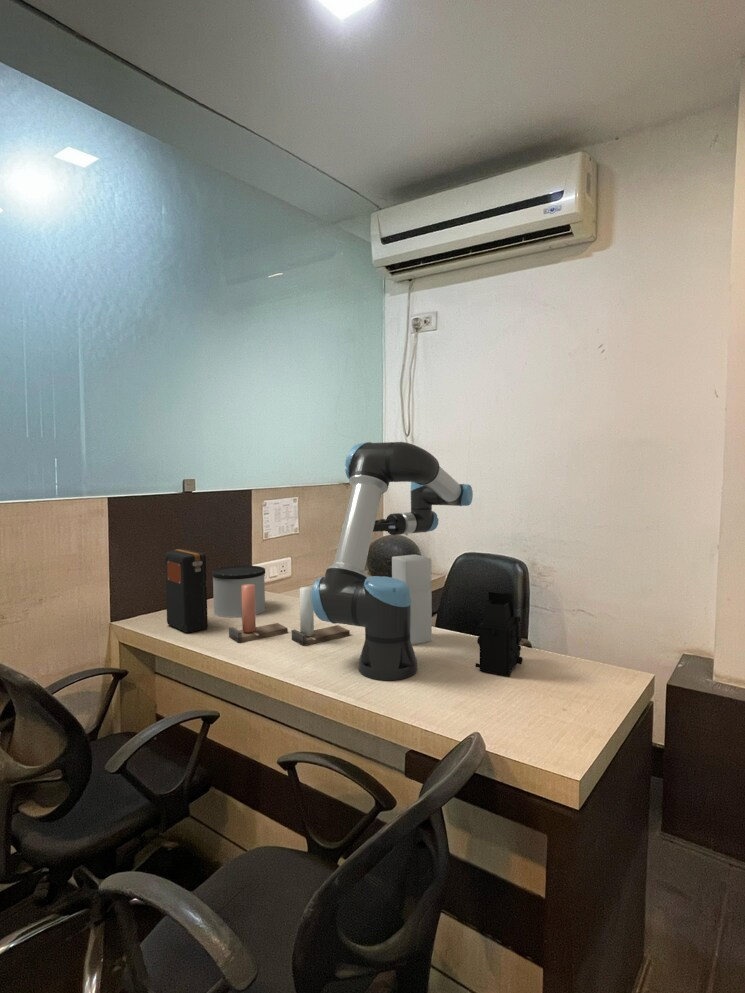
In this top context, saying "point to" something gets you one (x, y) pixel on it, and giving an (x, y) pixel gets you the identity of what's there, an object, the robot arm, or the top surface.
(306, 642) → the brown wooden board
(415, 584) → the tall white carton
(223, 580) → the container
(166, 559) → the voltmeter
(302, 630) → the grey plug
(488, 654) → the camera
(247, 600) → the terracotta plug
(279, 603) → the top surface
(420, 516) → the robot arm
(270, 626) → the brown base
